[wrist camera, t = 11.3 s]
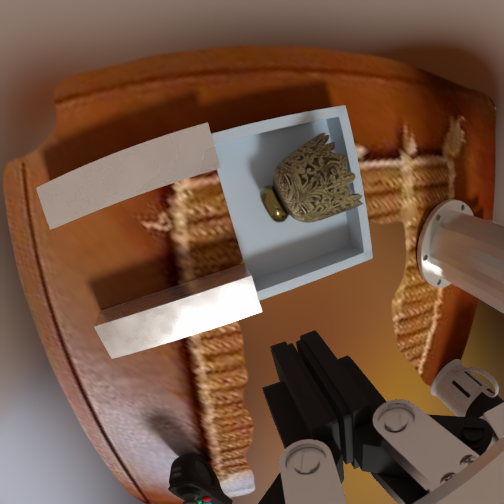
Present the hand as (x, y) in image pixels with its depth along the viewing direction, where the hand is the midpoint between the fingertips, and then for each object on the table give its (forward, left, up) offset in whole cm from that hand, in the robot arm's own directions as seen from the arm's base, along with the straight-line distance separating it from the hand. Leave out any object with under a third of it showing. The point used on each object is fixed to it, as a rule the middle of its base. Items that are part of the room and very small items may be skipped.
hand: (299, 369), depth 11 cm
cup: (-4, -1, -19) cm, 20 cm away
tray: (-8, -1, -21) cm, 23 cm away
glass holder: (-32, +38, -21) cm, 54 cm away
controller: (+15, +33, -21) cm, 42 cm away
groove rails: (+7, -1, -21) cm, 22 cm away
